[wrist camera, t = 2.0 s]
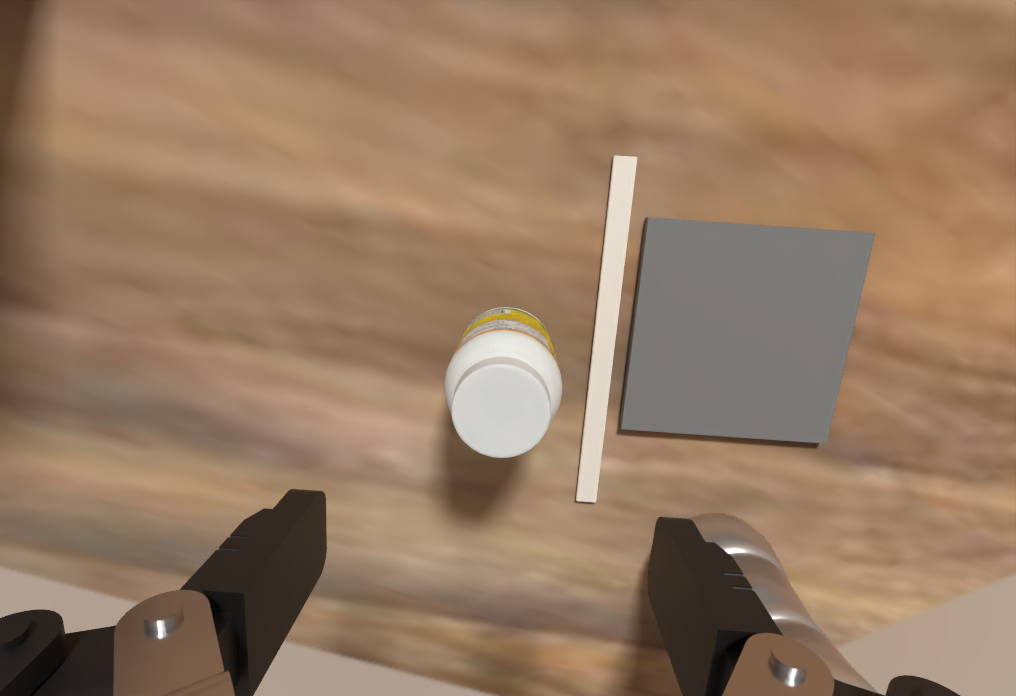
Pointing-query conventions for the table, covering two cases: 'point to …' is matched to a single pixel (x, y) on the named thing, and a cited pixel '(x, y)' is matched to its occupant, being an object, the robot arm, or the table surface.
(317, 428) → the table surface
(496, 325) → the supplement bottle
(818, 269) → the mat
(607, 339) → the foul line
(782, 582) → the plastic bottle
